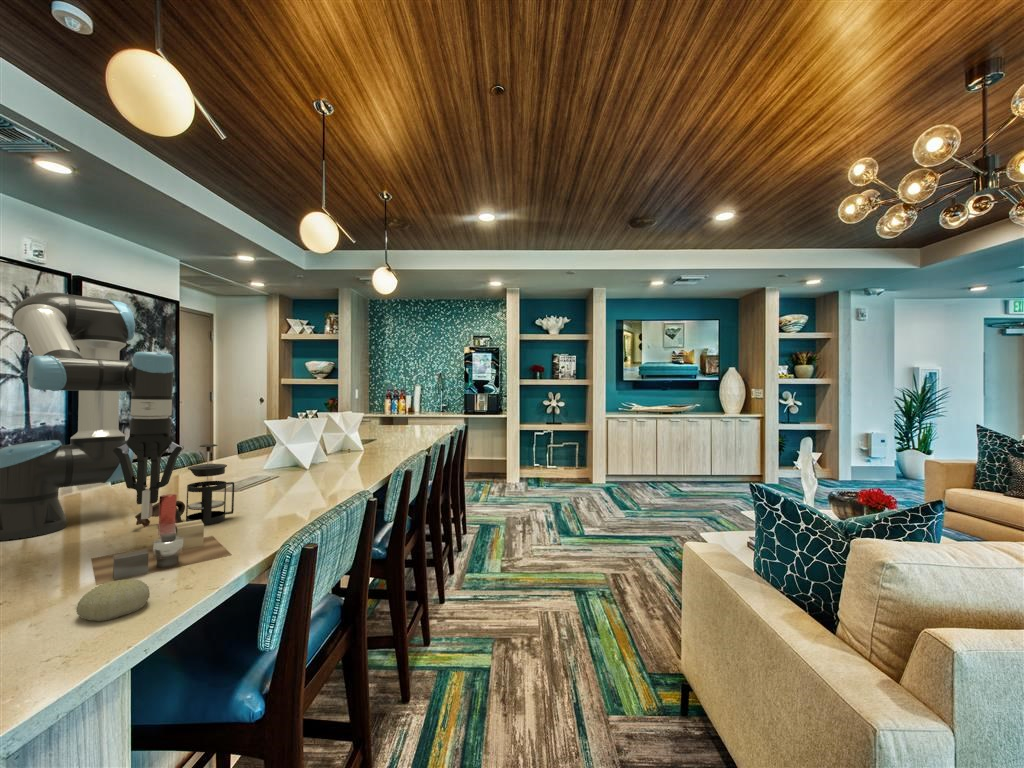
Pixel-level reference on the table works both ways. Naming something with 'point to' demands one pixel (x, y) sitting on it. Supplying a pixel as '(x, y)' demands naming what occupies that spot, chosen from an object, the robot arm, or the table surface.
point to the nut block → (191, 533)
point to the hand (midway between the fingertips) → (146, 517)
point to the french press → (208, 492)
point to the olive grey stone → (113, 600)
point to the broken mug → (156, 513)
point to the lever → (167, 529)
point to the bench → (153, 560)
